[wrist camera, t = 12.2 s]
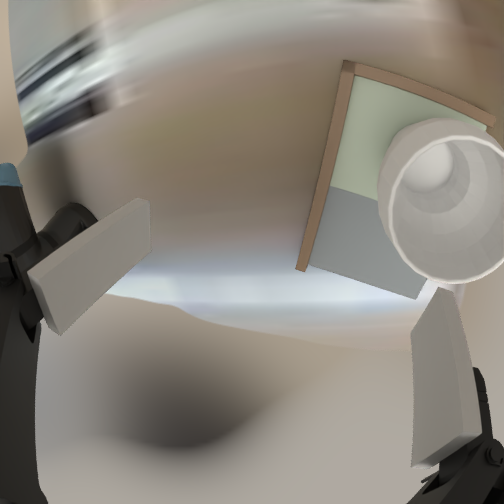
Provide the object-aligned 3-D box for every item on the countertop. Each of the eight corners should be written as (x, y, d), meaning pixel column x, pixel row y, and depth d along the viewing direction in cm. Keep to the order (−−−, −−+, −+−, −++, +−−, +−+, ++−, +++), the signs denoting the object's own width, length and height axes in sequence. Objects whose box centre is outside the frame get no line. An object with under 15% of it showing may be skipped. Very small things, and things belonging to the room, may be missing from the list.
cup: (473, 201, 26) (527, 279, 14) (385, 214, 31) (390, 301, 19) (457, 102, 22) (526, 117, 10) (361, 119, 27) (358, 140, 15)
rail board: (300, 256, 38) (295, 269, 36) (345, 62, 25) (343, 59, 23) (414, 294, 35) (416, 308, 33) (485, 114, 22) (496, 117, 19)
